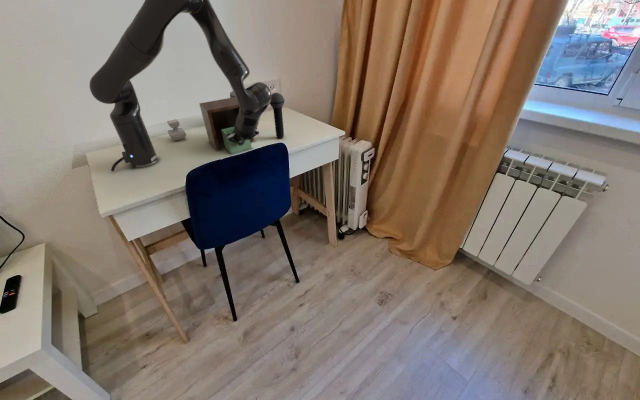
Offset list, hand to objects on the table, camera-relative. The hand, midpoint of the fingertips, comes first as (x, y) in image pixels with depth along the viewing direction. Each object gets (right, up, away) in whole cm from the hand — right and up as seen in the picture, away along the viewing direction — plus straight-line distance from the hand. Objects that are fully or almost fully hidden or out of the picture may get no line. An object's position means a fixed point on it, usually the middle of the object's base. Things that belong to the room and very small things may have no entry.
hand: (240, 143), depth 115 cm
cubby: (-7, +3, +11) cm, 13 cm away
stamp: (-32, +5, +14) cm, 35 cm away
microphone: (+15, +5, +14) cm, 21 cm away
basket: (-2, -1, +5) cm, 6 cm away
